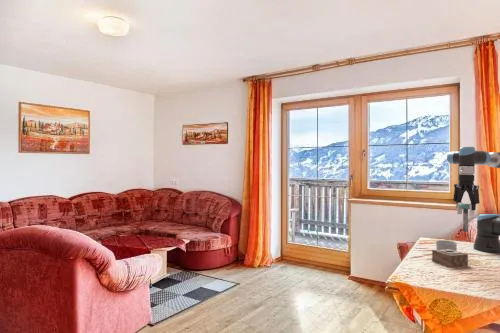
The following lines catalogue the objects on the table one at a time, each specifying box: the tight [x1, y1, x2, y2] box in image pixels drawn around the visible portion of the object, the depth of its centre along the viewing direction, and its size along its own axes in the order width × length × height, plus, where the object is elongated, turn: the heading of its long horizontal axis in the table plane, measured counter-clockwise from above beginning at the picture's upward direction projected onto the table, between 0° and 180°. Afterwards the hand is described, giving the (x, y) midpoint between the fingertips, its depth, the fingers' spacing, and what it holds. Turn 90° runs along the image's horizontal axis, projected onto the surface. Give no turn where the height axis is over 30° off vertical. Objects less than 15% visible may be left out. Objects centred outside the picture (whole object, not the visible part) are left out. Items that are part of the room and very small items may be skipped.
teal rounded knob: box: [459, 202, 471, 233], centre depth 192 cm, size 7×7×15 cm
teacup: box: [435, 239, 458, 251], centre depth 205 cm, size 14×11×8 cm
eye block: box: [431, 249, 469, 268], centre depth 187 cm, size 12×12×6 cm
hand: (465, 214), depth 192 cm, fingers closed on teal rounded knob, 7 cm apart
